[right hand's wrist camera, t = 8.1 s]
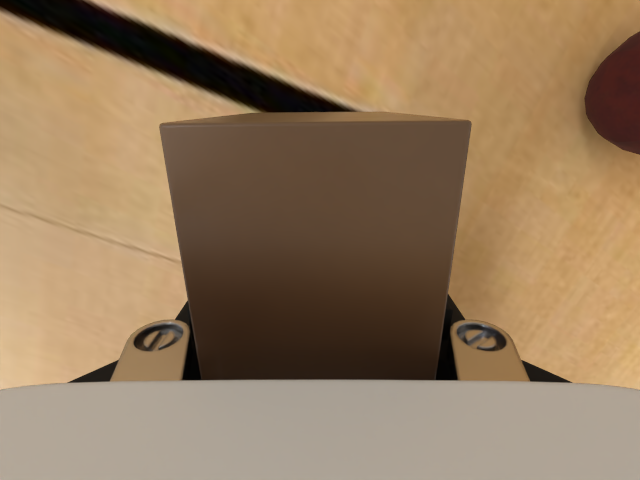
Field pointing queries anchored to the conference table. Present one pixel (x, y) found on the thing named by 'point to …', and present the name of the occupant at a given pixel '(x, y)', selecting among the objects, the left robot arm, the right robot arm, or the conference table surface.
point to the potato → (617, 96)
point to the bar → (317, 241)
